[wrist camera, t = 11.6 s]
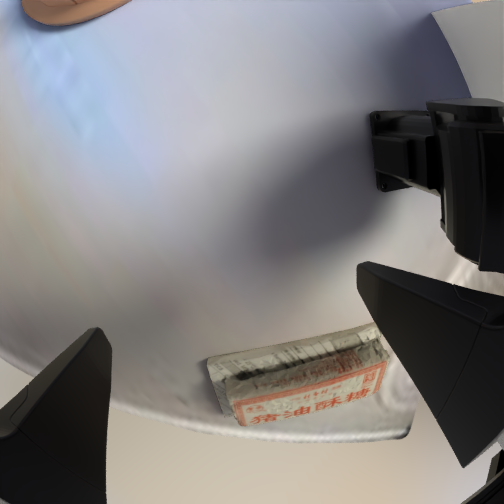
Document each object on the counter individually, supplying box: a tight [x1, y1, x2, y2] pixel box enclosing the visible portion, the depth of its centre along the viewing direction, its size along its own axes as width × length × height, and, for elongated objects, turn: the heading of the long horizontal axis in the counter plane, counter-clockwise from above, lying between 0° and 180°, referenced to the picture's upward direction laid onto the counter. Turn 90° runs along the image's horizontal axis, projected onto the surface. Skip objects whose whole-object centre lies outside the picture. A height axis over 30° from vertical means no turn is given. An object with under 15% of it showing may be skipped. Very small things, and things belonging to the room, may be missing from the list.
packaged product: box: [207, 322, 390, 426], centre depth 26 cm, size 18×5×10 cm
